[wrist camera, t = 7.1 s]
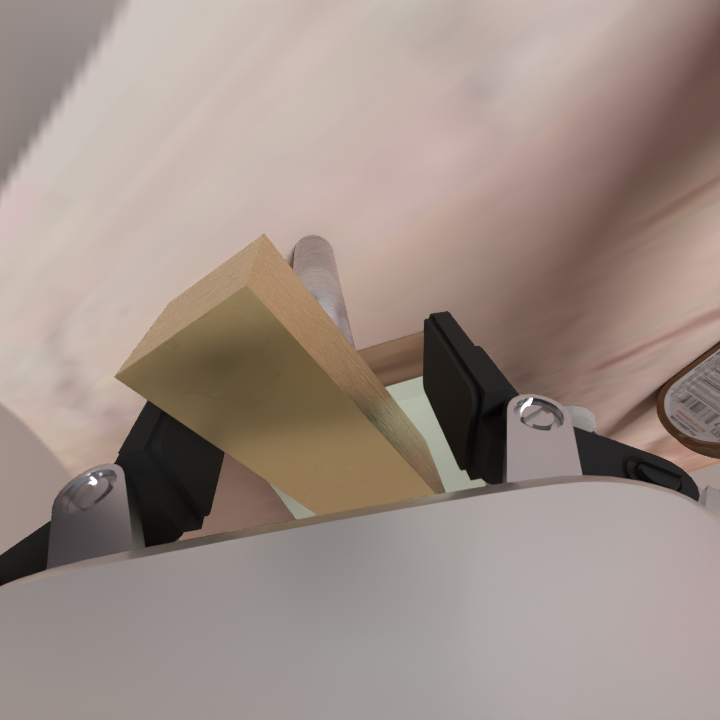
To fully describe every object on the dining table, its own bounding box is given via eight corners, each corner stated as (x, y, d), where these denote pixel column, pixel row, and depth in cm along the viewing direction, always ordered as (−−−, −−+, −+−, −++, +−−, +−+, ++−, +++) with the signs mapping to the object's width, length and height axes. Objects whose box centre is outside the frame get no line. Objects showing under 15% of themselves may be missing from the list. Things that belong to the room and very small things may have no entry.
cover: (245, 428, 21) (221, 556, 14) (467, 362, 20) (539, 467, 14) (327, 544, 30) (333, 652, 24) (480, 502, 29) (526, 601, 23)
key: (286, 170, 18) (246, 284, 5) (370, 297, 23) (454, 514, 10) (147, 277, 20) (-121, 540, 7) (251, 372, 25) (197, 628, 12)
